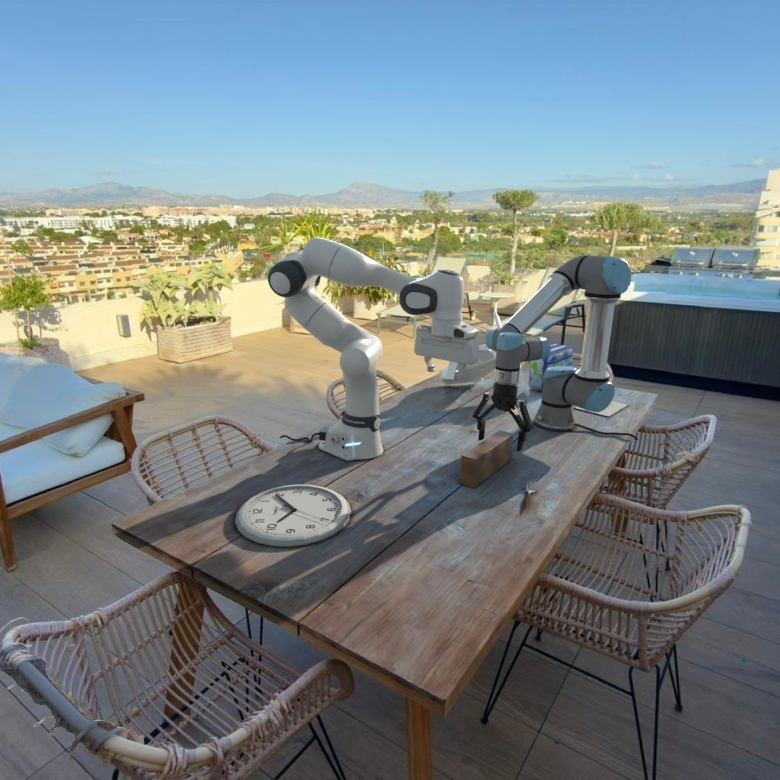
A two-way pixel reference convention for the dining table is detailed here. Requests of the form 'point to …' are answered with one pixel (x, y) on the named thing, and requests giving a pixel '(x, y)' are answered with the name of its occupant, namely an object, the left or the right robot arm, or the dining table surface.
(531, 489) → the fork
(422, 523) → the dining table surface
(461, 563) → the dining table surface
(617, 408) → the invitation card
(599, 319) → the right robot arm
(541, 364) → the lunch box
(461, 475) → the bar
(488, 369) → the white plastic object
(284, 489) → the wall clock
